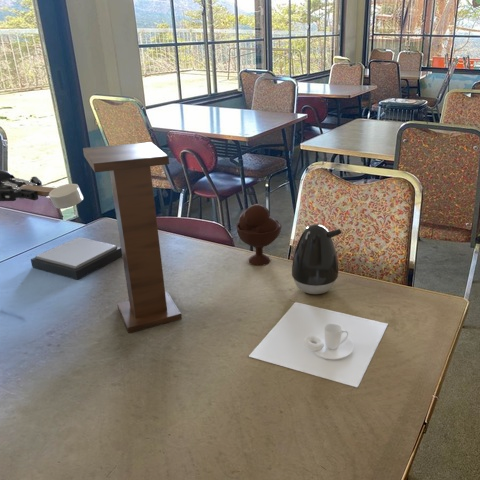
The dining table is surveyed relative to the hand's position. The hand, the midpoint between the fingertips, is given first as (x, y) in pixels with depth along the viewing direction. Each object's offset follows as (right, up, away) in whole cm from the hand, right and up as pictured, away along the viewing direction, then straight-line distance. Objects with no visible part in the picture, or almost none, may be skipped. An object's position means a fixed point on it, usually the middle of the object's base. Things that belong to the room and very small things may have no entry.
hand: (41, 194), depth 112 cm
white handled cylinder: (+2, -1, 0) cm, 3 cm away
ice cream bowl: (+50, -16, +7) cm, 53 cm away
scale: (+7, -16, +4) cm, 18 cm away
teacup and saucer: (+65, -29, -23) cm, 75 cm away
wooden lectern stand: (+30, -25, -15) cm, 42 cm away
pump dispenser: (+64, -22, -5) cm, 68 cm away
